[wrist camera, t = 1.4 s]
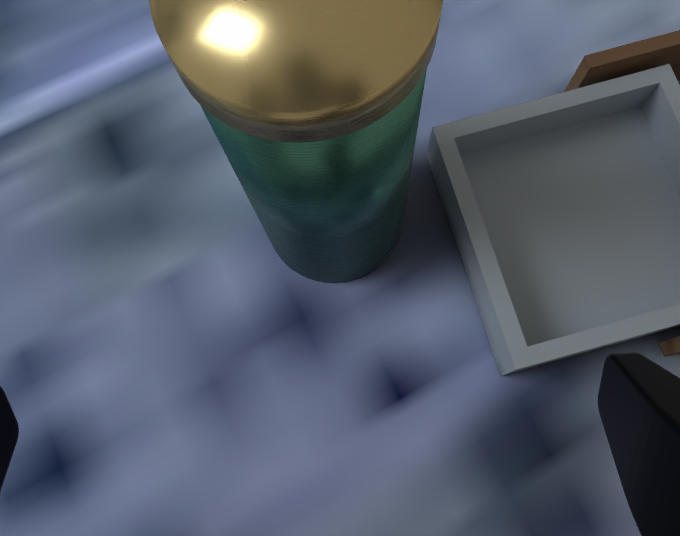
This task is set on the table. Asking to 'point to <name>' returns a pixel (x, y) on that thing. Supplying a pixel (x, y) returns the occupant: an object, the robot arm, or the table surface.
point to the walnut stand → (626, 61)
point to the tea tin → (311, 114)
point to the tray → (568, 216)
